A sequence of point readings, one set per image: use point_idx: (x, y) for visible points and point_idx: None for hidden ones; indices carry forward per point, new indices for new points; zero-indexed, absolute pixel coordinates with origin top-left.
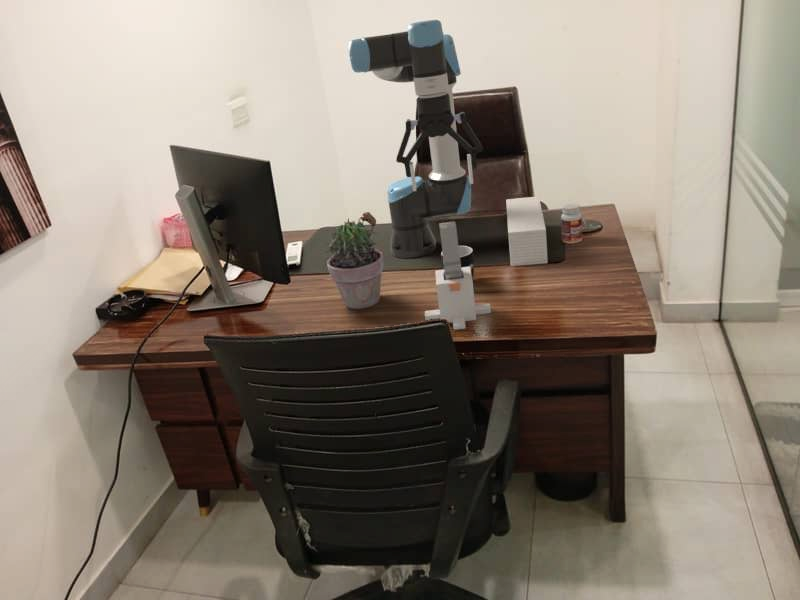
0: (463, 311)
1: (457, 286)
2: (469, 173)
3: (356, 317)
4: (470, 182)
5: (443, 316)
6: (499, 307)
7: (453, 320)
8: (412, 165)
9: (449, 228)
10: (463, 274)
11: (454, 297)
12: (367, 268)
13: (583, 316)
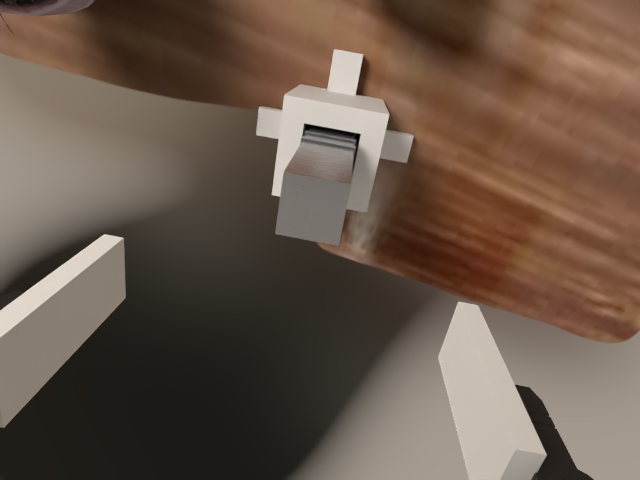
0: None
1: None
2: (451, 404)
3: (94, 41)
4: (441, 363)
5: None
6: (432, 141)
7: None
8: (9, 418)
9: (312, 239)
10: (355, 165)
11: None
12: (61, 7)
13: (567, 254)
